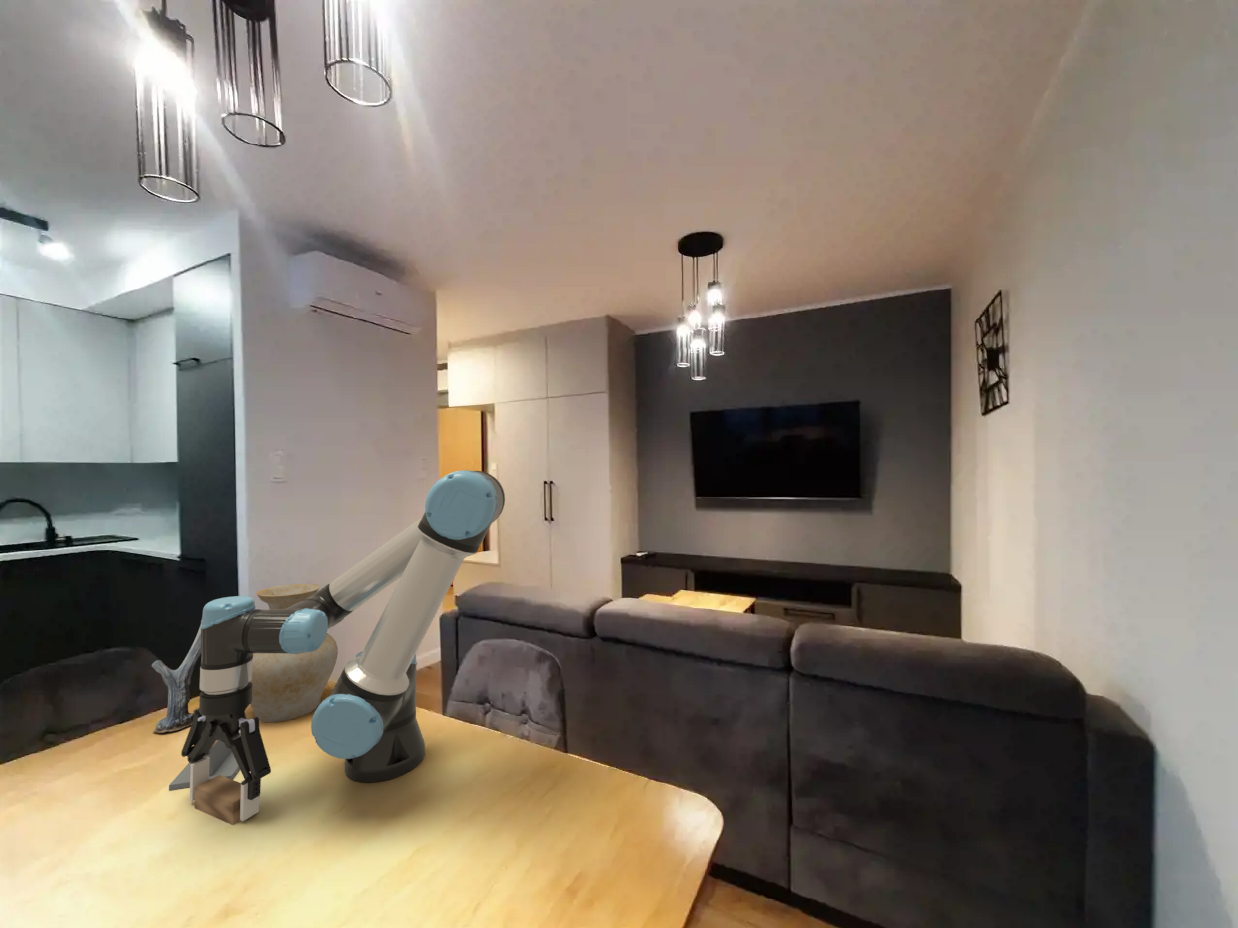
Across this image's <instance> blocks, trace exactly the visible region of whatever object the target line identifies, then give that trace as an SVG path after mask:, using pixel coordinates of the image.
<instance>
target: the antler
mask: <svg viewBox="0 0 1238 928" xmlns="http://www.w3.org/2000/svg"><path fill="white" fill-rule="evenodd" d="M201 625H202V619H201V620H200V625H199V629H198V631H197V634H196V636H195V638H194V641H193V643H192V645H191V647H190V649H189V651H188V652H187V654H186V656H185V658H184V660H183V661H182V662H181V664H180V665H179V667H178V668H176V669H172V668H169V667H168V665H165V663H164V662H163V661H162V660H160V659H157V660H155V661H154V662H152V664H151V667H152V668H153V670H155V672H156V673H158V674H160V675H161V677H162V681H163V682H164V684H165V686H167V692H168V693H167V711H166V716H165V717H163V718H161V719H160V720H158V721H157V722H156V727H155V728H154V729H153V732H155V733H159V734H161V733H166V732H175V731H178V730H182V729H184V728H186V727H189V726H190V727H191V725H192V723H193V717H194V712H193V713H192V712H191V713H190V712H189V703H190V701H191V697H190V694H191V692H190V685H191V683H192V675H193V671H194V668H195V666H196V664H197V662H198V660H199V658H200V656H201V630H200V627H201Z"/></svg>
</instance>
